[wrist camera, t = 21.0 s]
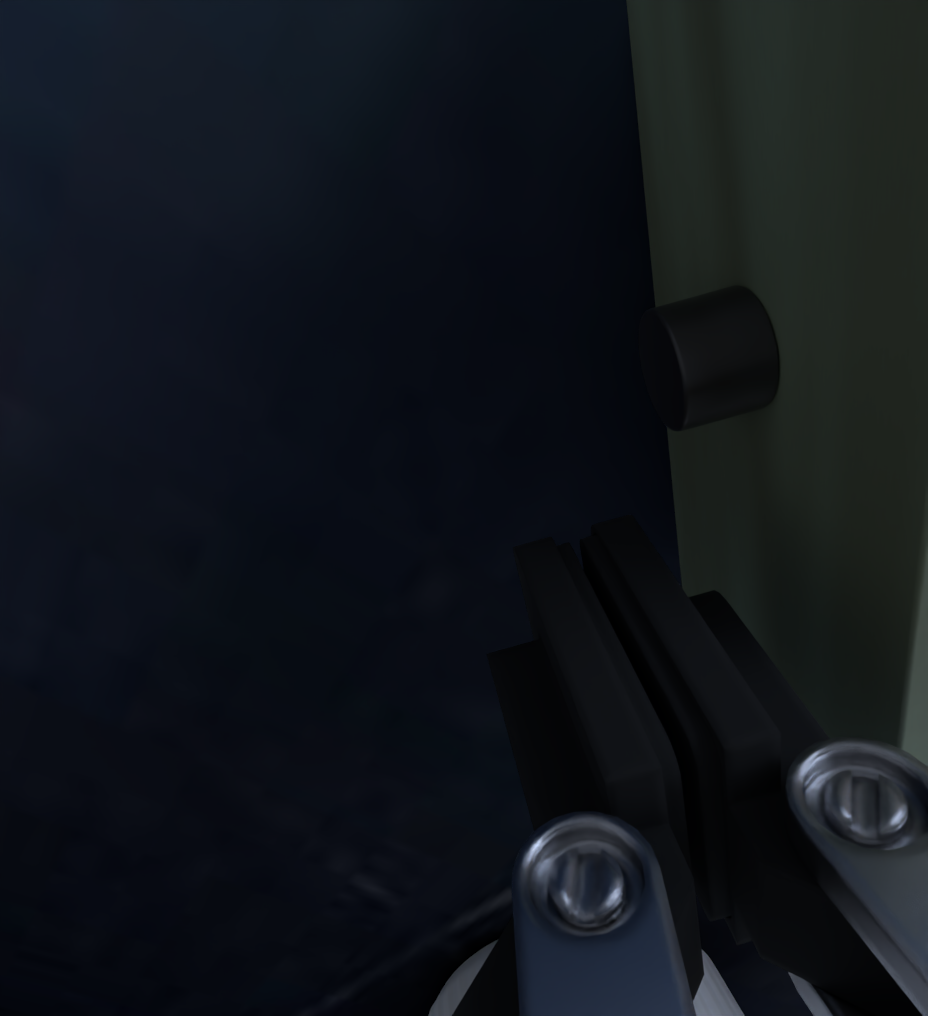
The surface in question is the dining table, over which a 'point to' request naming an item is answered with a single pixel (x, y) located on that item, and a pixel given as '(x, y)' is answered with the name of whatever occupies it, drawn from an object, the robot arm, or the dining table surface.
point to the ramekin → (711, 1001)
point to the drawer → (796, 332)
